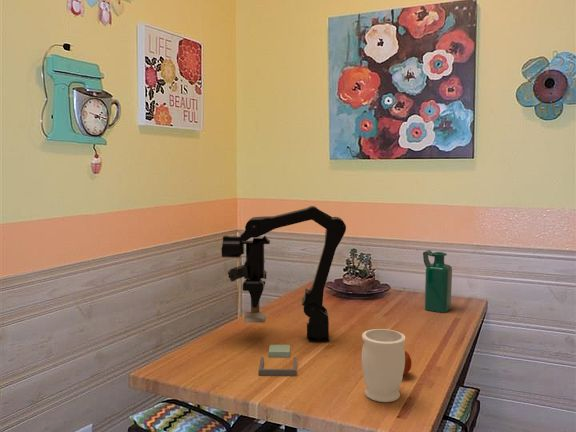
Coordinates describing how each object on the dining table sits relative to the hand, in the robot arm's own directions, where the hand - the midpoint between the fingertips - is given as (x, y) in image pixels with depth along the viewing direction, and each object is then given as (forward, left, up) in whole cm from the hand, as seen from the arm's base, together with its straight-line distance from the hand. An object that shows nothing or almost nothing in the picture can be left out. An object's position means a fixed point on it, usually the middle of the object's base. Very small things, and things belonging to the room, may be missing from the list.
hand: (255, 306), depth 169 cm
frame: (-8, +24, -10) cm, 27 cm away
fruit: (-40, +28, -11) cm, 50 cm away
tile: (-8, +13, -11) cm, 19 cm away
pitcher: (-66, -34, -11) cm, 75 cm away
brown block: (0, +1, -5) cm, 5 cm away
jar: (-34, +40, -11) cm, 54 cm away
